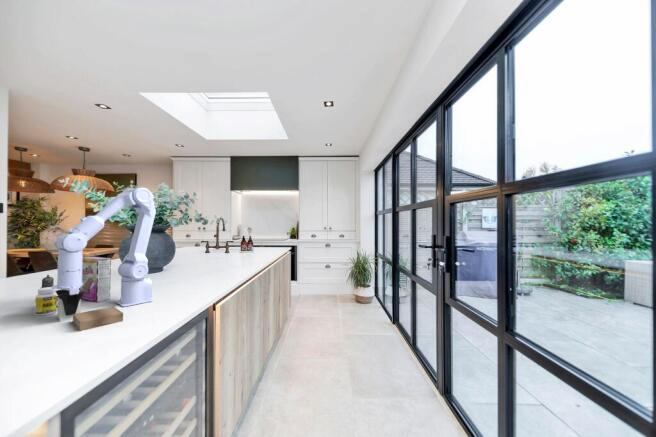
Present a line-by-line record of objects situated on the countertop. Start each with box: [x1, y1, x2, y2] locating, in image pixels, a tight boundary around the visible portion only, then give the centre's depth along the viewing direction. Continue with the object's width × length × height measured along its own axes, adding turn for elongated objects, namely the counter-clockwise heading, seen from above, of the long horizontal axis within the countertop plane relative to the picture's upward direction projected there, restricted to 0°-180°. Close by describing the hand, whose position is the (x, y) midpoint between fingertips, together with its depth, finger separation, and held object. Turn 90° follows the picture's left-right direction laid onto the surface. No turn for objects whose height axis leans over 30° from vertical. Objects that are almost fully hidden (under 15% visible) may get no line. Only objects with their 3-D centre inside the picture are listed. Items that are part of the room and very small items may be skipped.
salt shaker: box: [34, 274, 59, 309], centre depth 94 cm, size 6×6×12 cm
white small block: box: [57, 298, 82, 322], centre depth 85 cm, size 5×5×6 cm
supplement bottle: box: [34, 287, 58, 317], centre depth 88 cm, size 5×5×8 cm
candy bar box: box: [79, 256, 112, 303], centre depth 104 cm, size 11×5×16 cm, turn 71°
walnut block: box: [72, 306, 124, 332], centre depth 82 cm, size 10×10×3 cm
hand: (69, 312), depth 85 cm, fingers closed on white small block, 5 cm apart
